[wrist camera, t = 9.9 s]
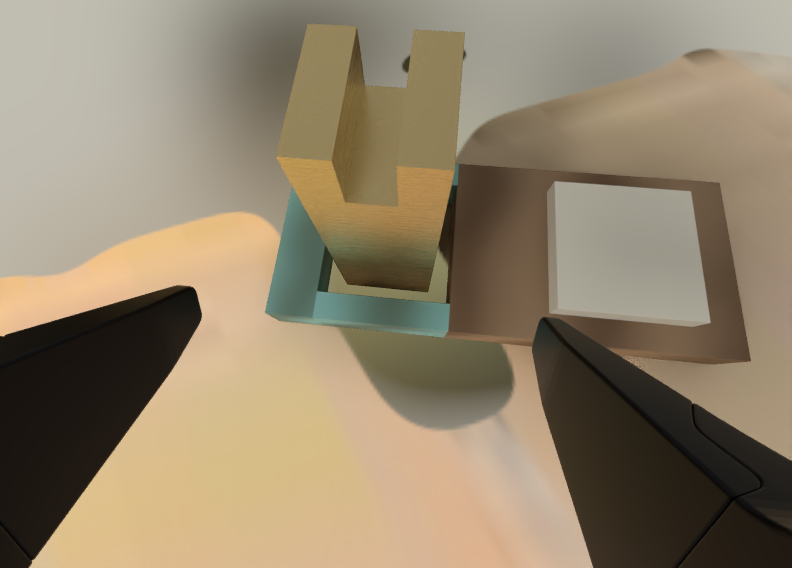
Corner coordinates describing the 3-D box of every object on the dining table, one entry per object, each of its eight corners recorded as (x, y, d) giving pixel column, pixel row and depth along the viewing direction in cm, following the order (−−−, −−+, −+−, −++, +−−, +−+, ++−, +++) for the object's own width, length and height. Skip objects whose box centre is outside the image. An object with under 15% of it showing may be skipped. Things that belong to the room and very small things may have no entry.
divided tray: (279, 320, 19) (256, 308, 16) (308, 173, 21) (293, 140, 18) (713, 364, 17) (773, 359, 15) (689, 202, 20) (737, 171, 17)
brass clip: (427, 292, 19) (454, 170, 8) (347, 284, 19) (275, 156, 9) (434, 218, 20) (464, 32, 10) (358, 212, 20) (308, 23, 10)
